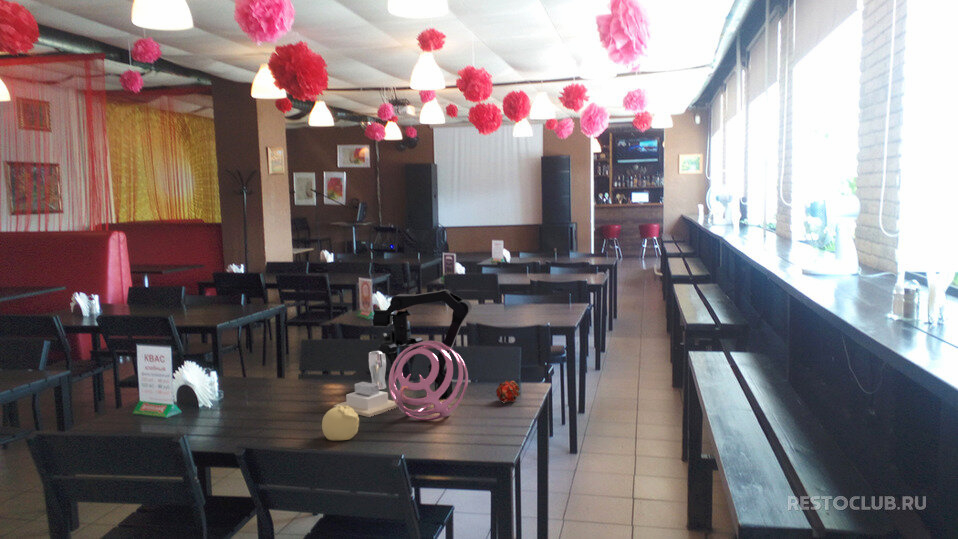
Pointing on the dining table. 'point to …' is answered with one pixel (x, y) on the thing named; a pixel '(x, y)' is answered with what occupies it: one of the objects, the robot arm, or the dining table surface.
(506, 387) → the dragon fruit
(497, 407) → the dining table surface
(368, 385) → the grey wooden block
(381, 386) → the beer glass
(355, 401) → the cream square frame
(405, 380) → the pink openwork sphere
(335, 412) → the sculpture
